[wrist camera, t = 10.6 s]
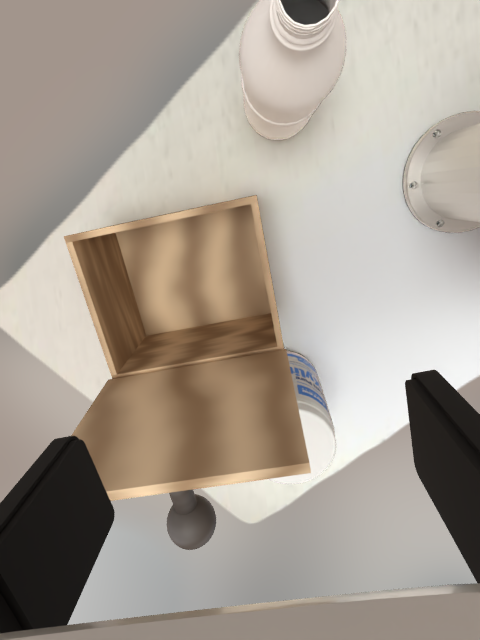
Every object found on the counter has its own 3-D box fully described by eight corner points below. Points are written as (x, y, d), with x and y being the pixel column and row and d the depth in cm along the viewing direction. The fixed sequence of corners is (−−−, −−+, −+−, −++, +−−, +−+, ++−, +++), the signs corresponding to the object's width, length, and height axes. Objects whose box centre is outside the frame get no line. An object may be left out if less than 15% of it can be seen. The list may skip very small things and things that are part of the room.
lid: (309, 462, 23) (324, 551, 25) (286, 349, 37) (297, 414, 39) (26, 502, 24) (70, 581, 27) (108, 379, 38) (131, 440, 41)
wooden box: (255, 195, 44) (256, 195, 33) (277, 314, 49) (284, 351, 37) (111, 226, 46) (63, 236, 34) (144, 338, 50) (113, 380, 39)
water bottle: (236, 82, 40) (212, -75, 17) (301, 59, 40) (372, -142, 16) (254, 151, 43) (256, 99, 19) (316, 131, 42) (399, 48, 18)
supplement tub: (318, 348, 50) (344, 407, 36) (315, 410, 53) (337, 487, 39) (246, 348, 50) (243, 407, 36) (246, 409, 53) (244, 486, 39)
